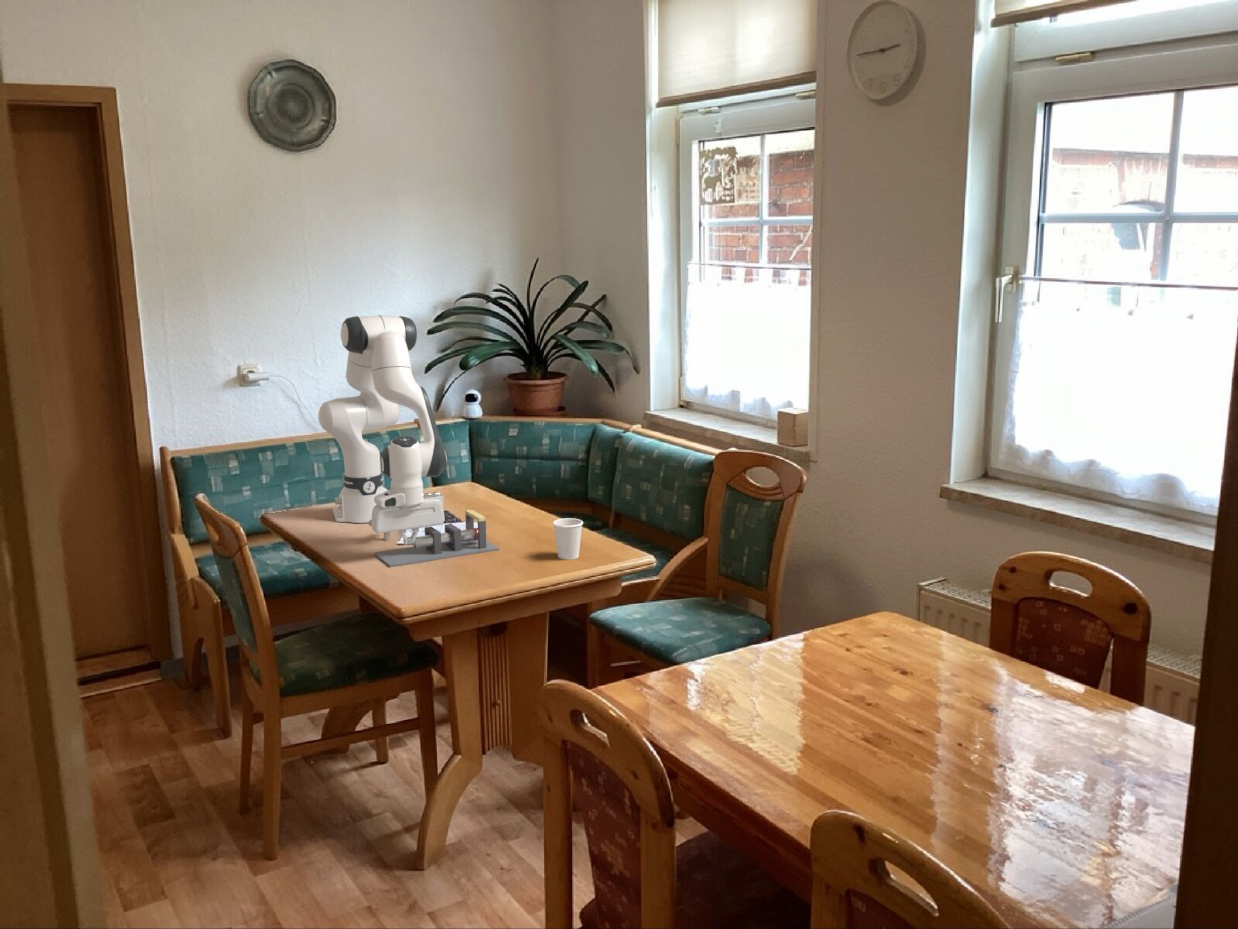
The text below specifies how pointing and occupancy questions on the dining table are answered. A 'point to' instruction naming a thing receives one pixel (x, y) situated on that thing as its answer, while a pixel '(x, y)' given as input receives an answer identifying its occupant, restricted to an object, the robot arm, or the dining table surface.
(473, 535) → the tube
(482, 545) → the collar board
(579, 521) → the dixie cup
